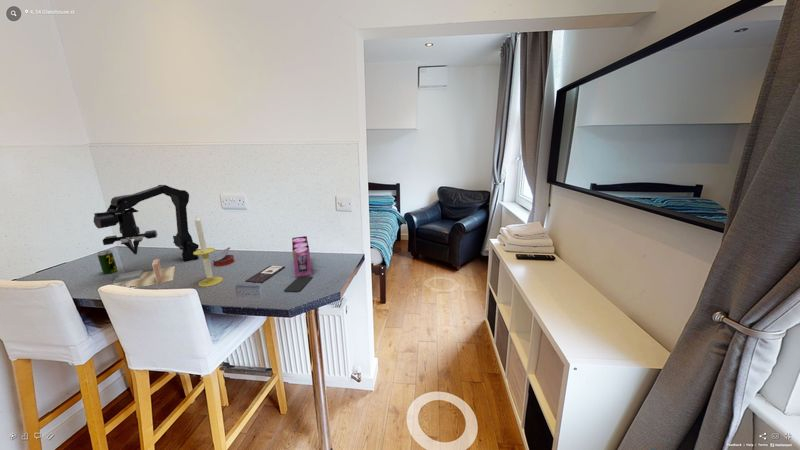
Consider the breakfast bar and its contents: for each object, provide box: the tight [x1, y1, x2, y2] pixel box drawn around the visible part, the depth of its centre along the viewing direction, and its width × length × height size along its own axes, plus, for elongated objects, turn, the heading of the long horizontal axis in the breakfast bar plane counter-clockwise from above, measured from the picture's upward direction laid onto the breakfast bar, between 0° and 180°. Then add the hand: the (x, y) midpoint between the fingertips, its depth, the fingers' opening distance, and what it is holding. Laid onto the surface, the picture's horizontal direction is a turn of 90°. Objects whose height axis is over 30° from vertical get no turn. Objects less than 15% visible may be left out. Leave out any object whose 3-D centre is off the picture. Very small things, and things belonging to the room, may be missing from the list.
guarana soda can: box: [96, 249, 119, 276], centre depth 145 cm, size 5×5×12 cm
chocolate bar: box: [244, 265, 286, 284], centre depth 141 cm, size 9×1×18 cm
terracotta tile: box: [151, 258, 163, 284], centre depth 137 cm, size 2×8×9 cm, turn 34°
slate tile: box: [114, 269, 144, 284], centre depth 140 cm, size 2×8×9 cm
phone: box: [283, 275, 314, 293], centre depth 130 cm, size 7×1×15 cm
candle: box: [193, 214, 224, 288], centre depth 130 cm, size 10×10×32 cm
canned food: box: [212, 246, 235, 267], centre depth 157 cm, size 11×10×10 cm
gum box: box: [291, 235, 313, 278], centre depth 146 cm, size 24×8×14 cm, turn 20°
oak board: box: [112, 266, 176, 289], centre depth 139 cm, size 23×21×1 cm
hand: (135, 254), depth 139 cm, fingers closed
